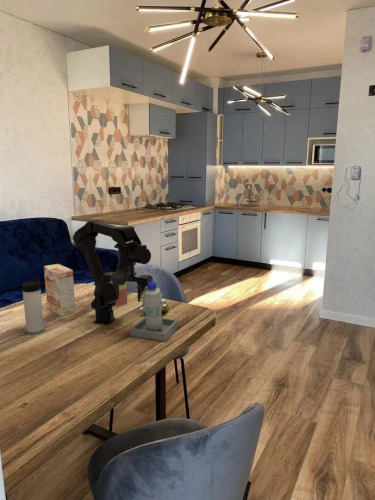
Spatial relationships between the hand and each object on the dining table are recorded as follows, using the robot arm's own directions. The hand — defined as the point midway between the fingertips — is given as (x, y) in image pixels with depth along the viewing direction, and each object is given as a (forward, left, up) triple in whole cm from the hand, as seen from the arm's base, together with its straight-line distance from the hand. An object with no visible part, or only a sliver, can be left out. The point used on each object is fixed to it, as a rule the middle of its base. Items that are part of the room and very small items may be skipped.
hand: (128, 300), depth 144 cm
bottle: (+10, +2, -11) cm, 15 cm away
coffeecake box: (-39, +10, -12) cm, 42 cm away
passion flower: (+1, +20, -12) cm, 24 cm away
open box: (+10, +2, -12) cm, 16 cm away
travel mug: (-34, -12, -12) cm, 38 cm away
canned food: (-21, +26, -12) cm, 36 cm away
